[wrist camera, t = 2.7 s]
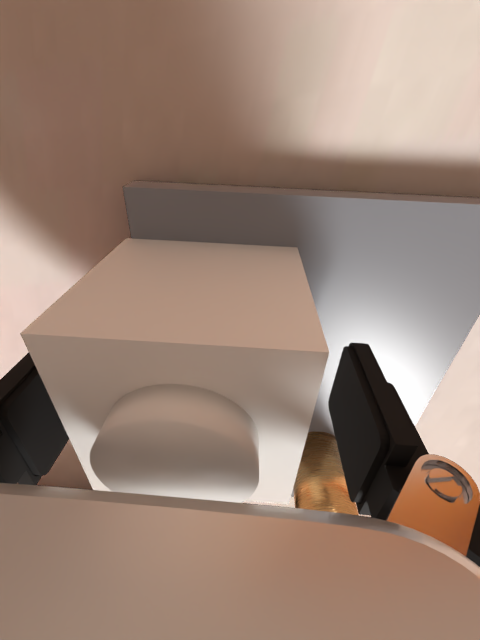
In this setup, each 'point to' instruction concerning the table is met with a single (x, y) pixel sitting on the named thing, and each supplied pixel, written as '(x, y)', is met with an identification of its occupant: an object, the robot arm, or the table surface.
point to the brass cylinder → (322, 477)
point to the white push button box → (186, 369)
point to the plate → (348, 267)
